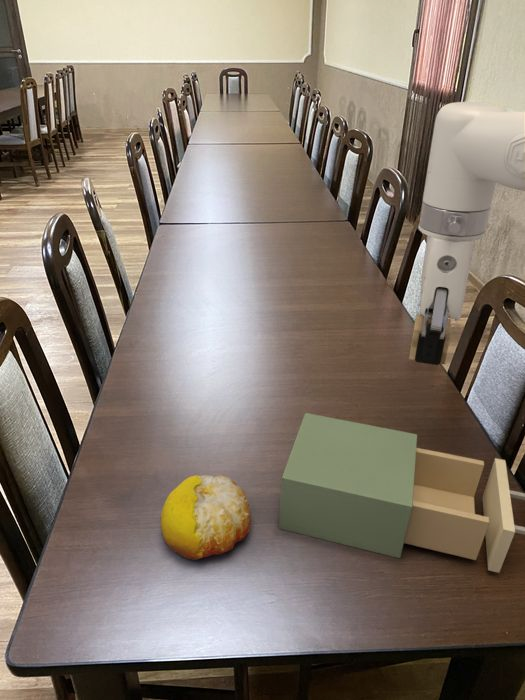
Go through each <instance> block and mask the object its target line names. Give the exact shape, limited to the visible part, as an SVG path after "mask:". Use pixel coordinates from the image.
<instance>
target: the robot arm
mask: <svg viewBox="0 0 525 700" xmlns="http://www.w3.org/2000/svg"><path fill="white" fill-rule="evenodd" d="M430 144H431V145H430V150H429V151H430V152H429V158H428V159H429V160H428V164H427V170H426V177H425V183H424V190H423V195H422V202H421V203H422V204H421V209H420V215H419V222H418V226H417V229H418V231H420V233H421V234H424V235H425V236H427V237H426V242H425V249H424V255H423V263H422V270H421V280H420V296H419V297H420V298H419V301H420V302H419V303H420V304H419V314H420V315H423V316H424V321H423V327H422V333H419V338H418V343H417V349H416V355H415V360H414V361H415V362H416V363H421V364H427V365H434V366H439V365H441V364H440V362H441V357H442V353H443V348H444V343H445V337H444V336H445V330H446V325H447V319H451V320H454V321H455V322H458V321H459V320H461V318H462V314H463V308H464V302H465V297H466V292H467V286H468V283H469V282H468V281H469V277H470V270H471V265H472V261H473V260H472V259H473V252H474V244H475V241H476V240H480V239H482V238H483V237H484V236H485V233H486V229H487V224H488V220H489V215H490V213H491V207H492V202H493V200H494V199H493V198H494V194H495V189H496V185H497V184H498V185H500V186H503V187H507V188H509V189H514V190H517V191H523V192H525V110H522V111H521V110H519V111H508V109H507V108H505V107H504V106H503V105H500V104H496V103H491V102H481V101H456V102H450V103H446V104H445V105H443V106H442V107H441V108H440V109H439V111H437V114H436V116H435V120H434V126H433V134H432V138H431V143H430ZM429 318H430V319H432V320H431V323H429V324H428V319H429Z"/></svg>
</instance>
